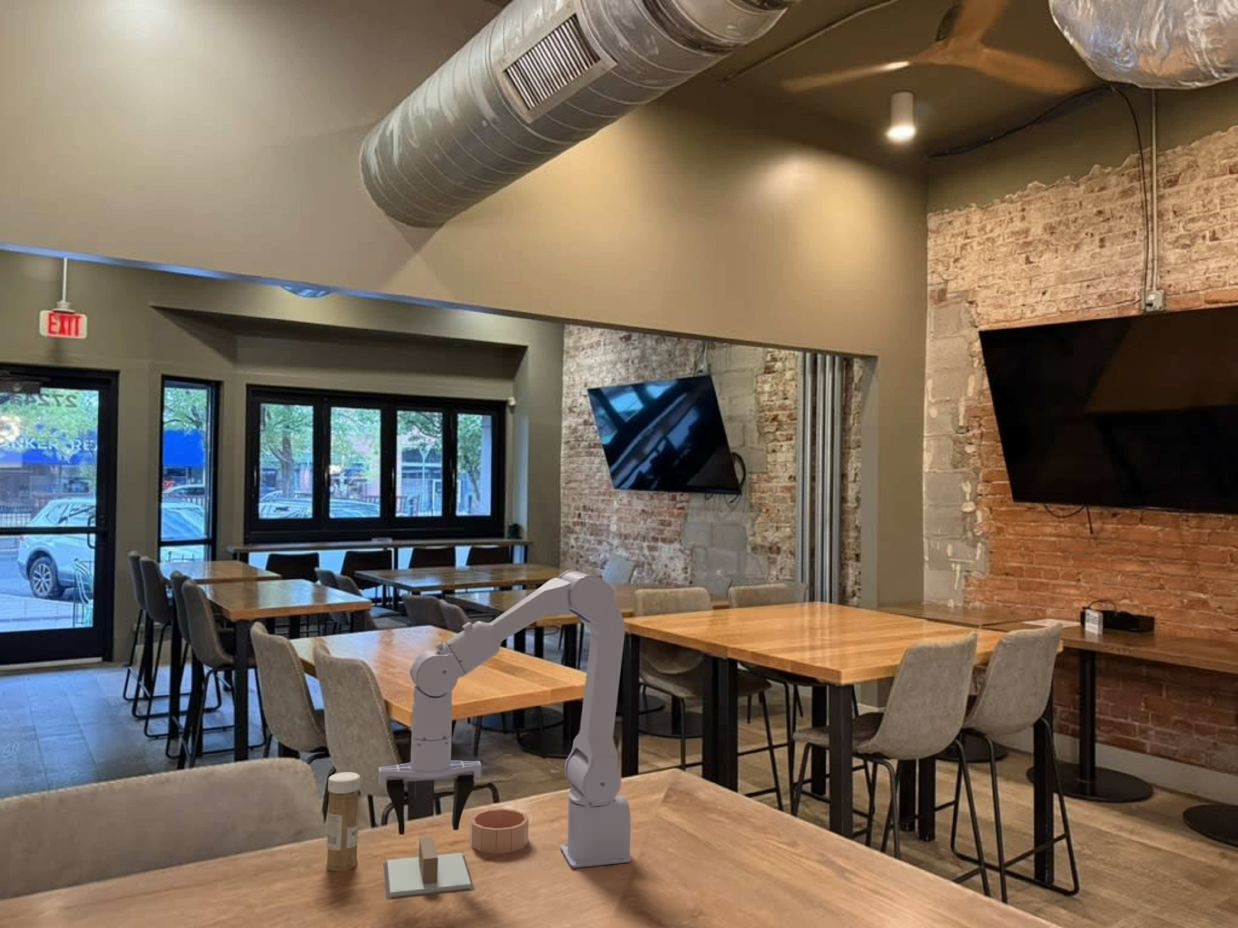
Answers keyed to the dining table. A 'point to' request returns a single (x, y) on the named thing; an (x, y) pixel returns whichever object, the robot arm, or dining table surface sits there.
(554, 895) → the dining table surface
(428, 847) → the lid
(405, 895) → the mat
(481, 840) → the bowl
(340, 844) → the sprinkles bottle
